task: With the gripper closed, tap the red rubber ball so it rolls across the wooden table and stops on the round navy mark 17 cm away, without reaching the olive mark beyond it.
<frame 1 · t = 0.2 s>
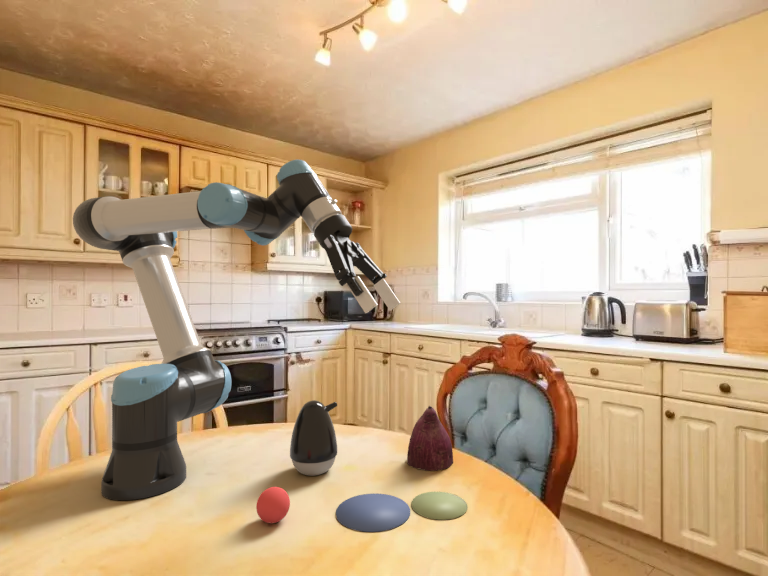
hand: (384, 308, 85), 35 cm above the table, tool tilted 35°, fingers open, 13 cm apart
ball: (273, 504, 72), on the table
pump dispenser: (314, 471, 93), on the table
vegetable: (430, 463, 98), on the table
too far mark: (439, 505, 77), on the table
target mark: (373, 511, 75), on the table
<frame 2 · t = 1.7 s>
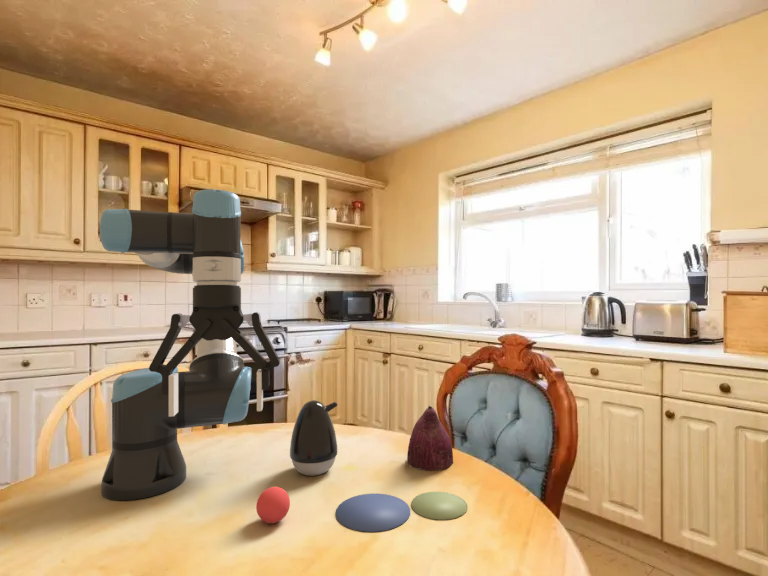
hand: (217, 411, 71), 19 cm above the table, tool pointing down, fingers open, 13 cm apart
nothing on the table moved.
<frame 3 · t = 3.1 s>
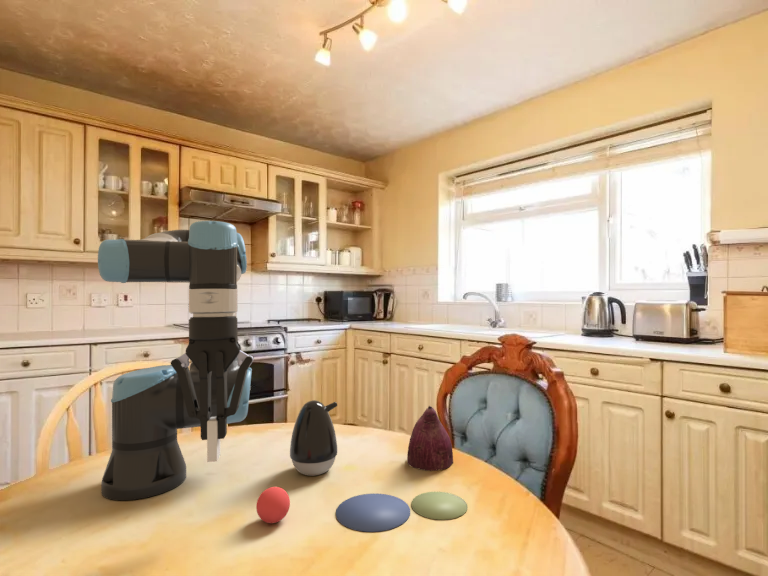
hand: (213, 458, 71), 11 cm above the table, tool pointing down, fingers closed
nothing on the table moved.
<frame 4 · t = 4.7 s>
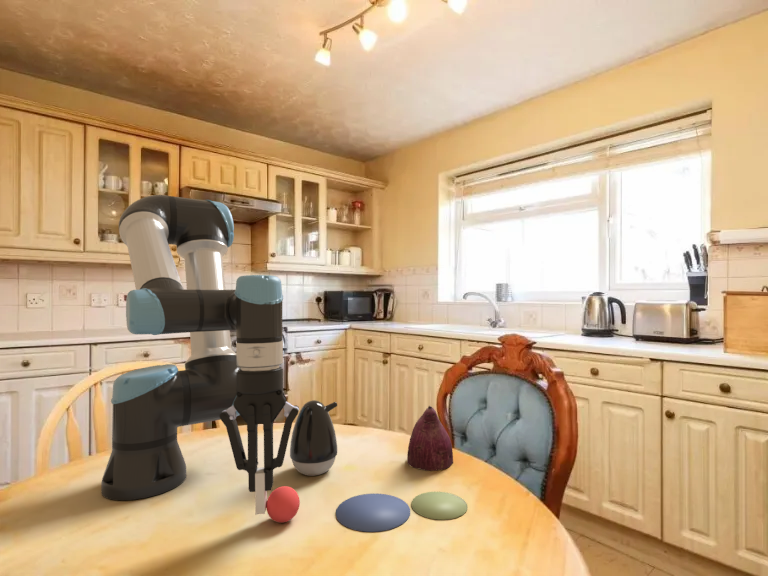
hand: (261, 510, 71), 2 cm above the table, tool pointing down, fingers closed
ball: (283, 504, 73), on the table
everything else where it was.
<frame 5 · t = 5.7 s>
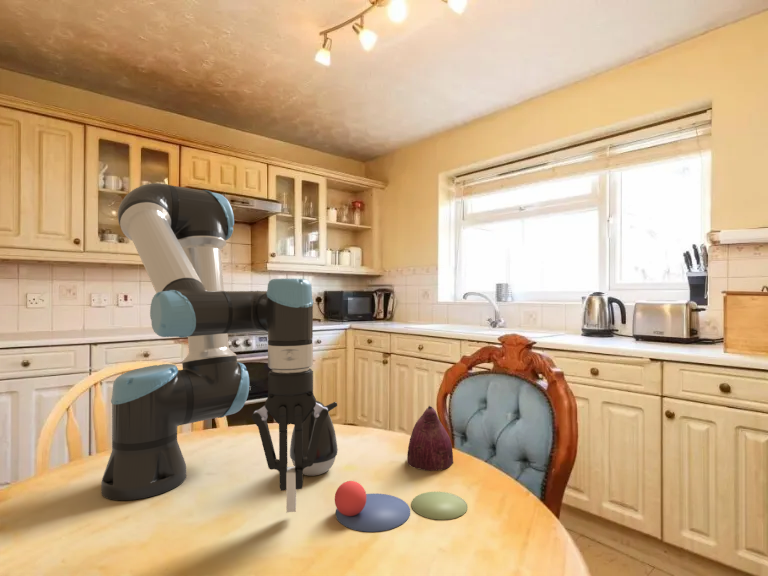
hand: (291, 508, 73), 2 cm above the table, tool pointing down, fingers closed
ball: (350, 498, 74), on the table
everything else where it was.
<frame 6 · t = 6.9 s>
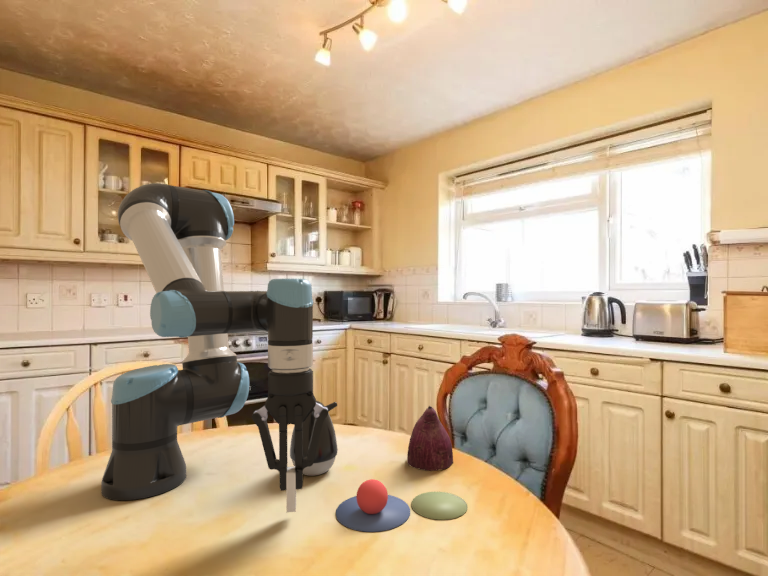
hand: (291, 508, 73), 2 cm above the table, tool pointing down, fingers closed
ball: (372, 496, 75), on the table
everything else where it was.
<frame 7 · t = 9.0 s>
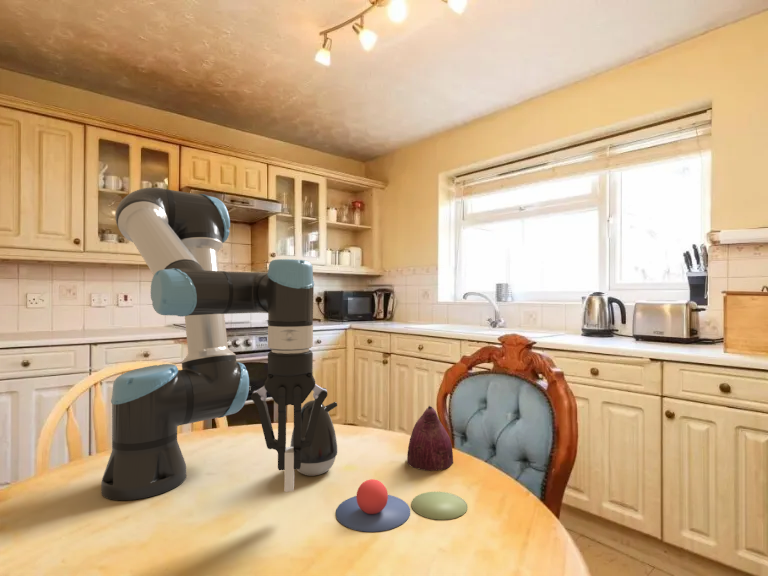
hand: (289, 487, 73), 5 cm above the table, tool pointing down, fingers closed
nothing on the table moved.
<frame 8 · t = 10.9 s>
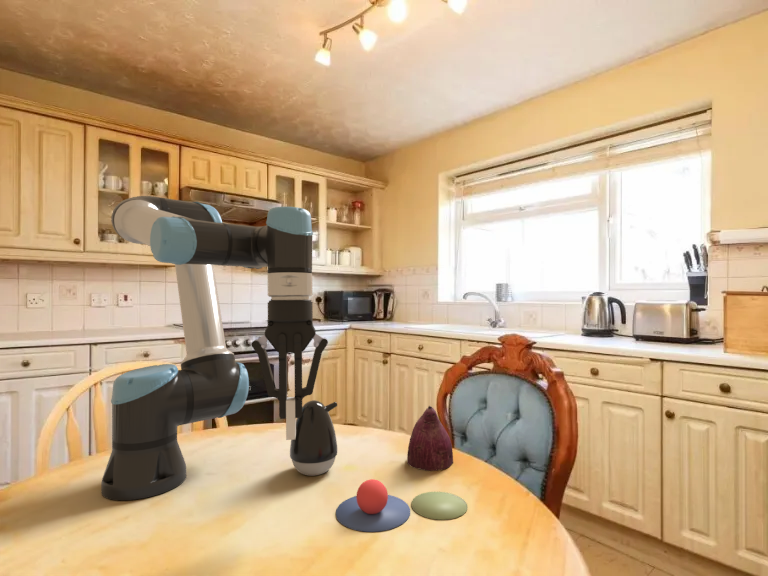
hand: (291, 436, 73), 14 cm above the table, tool pointing down, fingers closed
nothing on the table moved.
at the end: ball 0.3 cm from the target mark (horizontally); ball at rest at the end (0.0 cm/s); ball moved 16.8 cm from its start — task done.
